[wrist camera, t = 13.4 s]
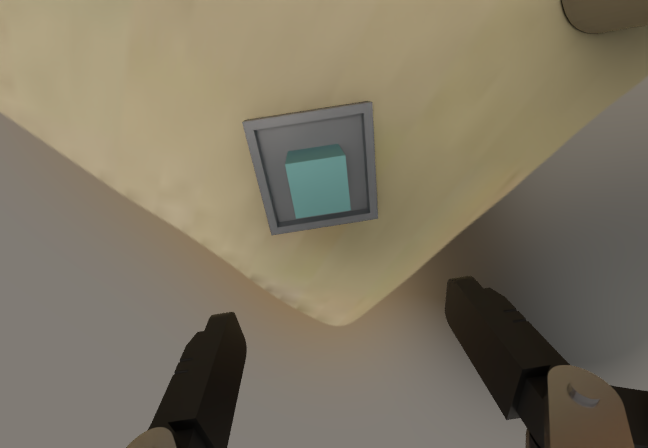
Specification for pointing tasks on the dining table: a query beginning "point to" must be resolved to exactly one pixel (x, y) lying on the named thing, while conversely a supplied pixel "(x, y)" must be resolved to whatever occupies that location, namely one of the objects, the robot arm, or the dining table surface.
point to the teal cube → (318, 180)
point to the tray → (307, 132)
